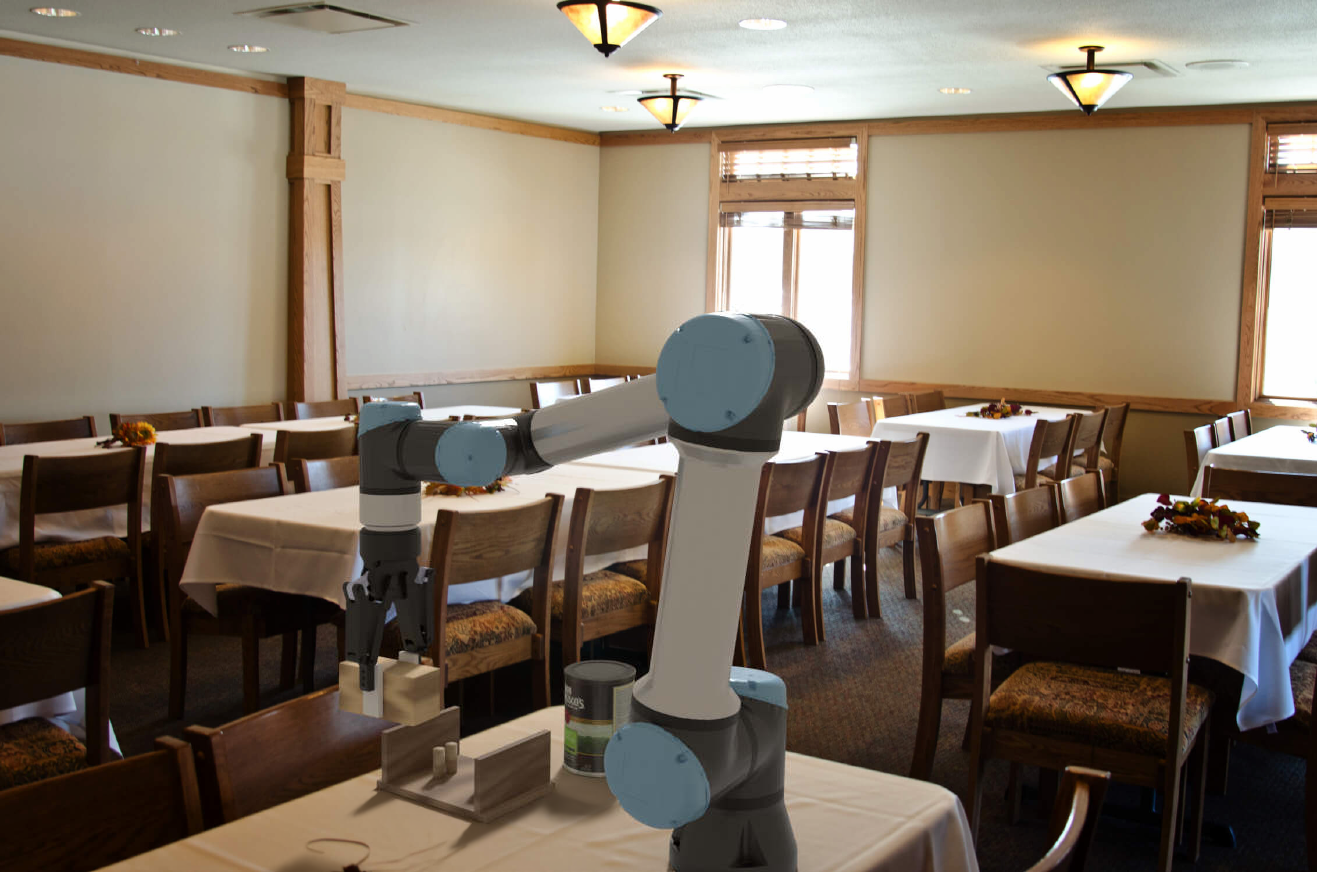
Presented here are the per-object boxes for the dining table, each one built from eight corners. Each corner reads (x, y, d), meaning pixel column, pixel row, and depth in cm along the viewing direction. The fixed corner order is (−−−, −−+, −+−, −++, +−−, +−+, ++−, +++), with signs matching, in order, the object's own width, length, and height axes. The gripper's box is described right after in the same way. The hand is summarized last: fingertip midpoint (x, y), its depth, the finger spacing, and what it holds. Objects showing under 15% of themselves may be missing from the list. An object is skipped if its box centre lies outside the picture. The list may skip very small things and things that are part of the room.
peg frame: (555, 789, 161) (556, 732, 160) (485, 823, 149) (486, 761, 148) (449, 757, 172) (449, 704, 171) (376, 787, 160) (376, 729, 160)
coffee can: (578, 782, 163) (579, 682, 162) (553, 757, 173) (554, 663, 171) (645, 771, 168) (647, 675, 167) (617, 748, 177) (619, 656, 176)
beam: (439, 715, 147) (440, 668, 147) (413, 726, 143) (413, 678, 142) (366, 699, 153) (366, 654, 152) (338, 709, 149) (339, 662, 148)
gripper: (422, 514, 156) (422, 686, 157) (310, 532, 140) (312, 722, 142) (464, 520, 151) (463, 696, 153) (354, 538, 136) (355, 734, 138)
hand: (391, 708), depth 148 cm, fingers closed on beam, 5 cm apart
